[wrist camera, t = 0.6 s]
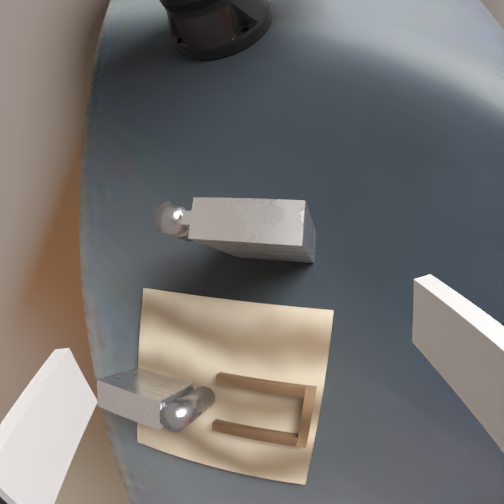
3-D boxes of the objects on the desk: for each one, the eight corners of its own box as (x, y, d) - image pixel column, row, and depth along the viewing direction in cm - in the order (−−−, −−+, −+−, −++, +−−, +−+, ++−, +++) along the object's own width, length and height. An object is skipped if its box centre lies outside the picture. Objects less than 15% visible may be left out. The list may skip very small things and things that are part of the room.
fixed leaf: (137, 367, 34) (97, 379, 27) (216, 387, 32) (185, 408, 25) (137, 390, 34) (97, 406, 27) (214, 411, 31) (184, 437, 24)
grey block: (213, 227, 35) (157, 197, 24) (316, 233, 32) (305, 200, 21) (210, 255, 35) (151, 236, 23) (314, 263, 32) (302, 245, 20)
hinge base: (148, 288, 36) (137, 287, 34) (333, 310, 31) (333, 311, 29) (141, 439, 34) (132, 445, 32) (306, 480, 29) (303, 490, 27)
